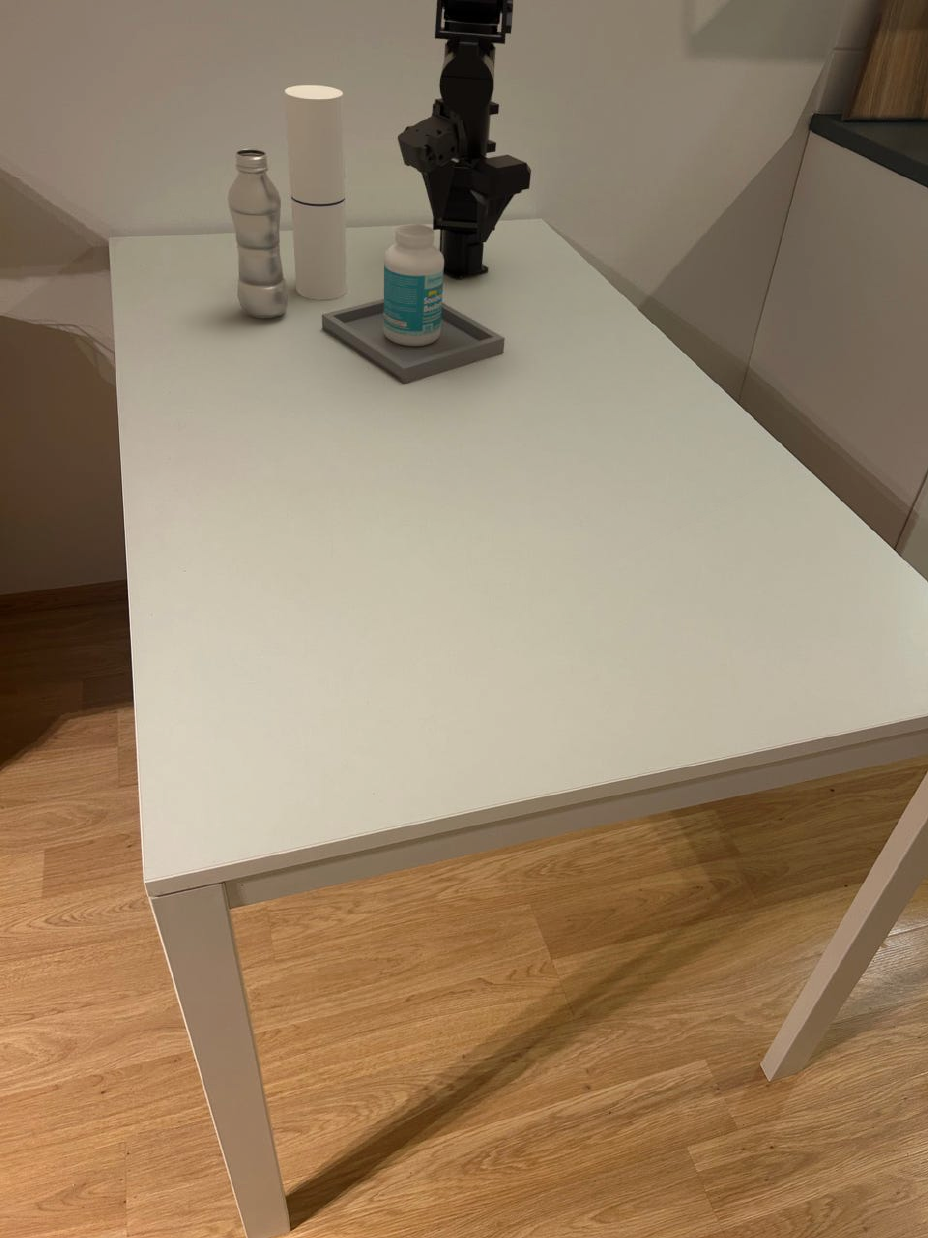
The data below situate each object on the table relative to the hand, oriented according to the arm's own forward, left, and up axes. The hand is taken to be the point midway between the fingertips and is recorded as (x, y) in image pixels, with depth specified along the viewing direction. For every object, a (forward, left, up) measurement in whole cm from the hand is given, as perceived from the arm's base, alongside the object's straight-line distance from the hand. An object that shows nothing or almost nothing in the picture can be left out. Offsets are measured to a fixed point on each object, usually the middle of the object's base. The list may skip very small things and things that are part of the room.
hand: (459, 229), depth 118 cm
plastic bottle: (-16, -20, -13) cm, 29 cm away
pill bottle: (+1, -8, -12) cm, 14 cm away
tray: (+1, -8, -13) cm, 15 cm away
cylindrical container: (-19, -9, -13) cm, 25 cm away
